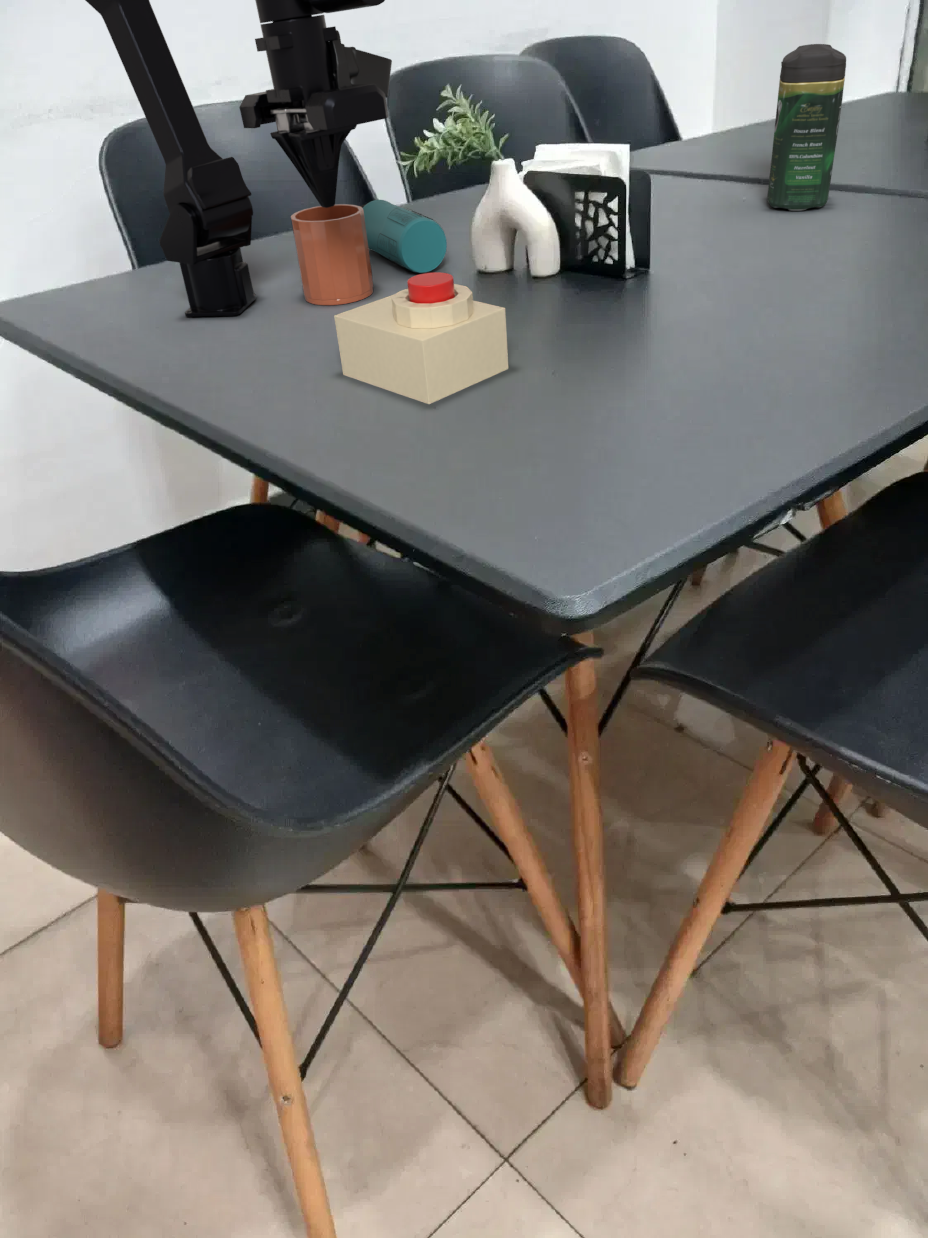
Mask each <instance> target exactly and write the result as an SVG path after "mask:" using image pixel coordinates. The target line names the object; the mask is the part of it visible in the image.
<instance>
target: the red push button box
mask: <svg viewBox="0 0 928 1238" xmlns="http://www.w3.org/2000/svg"><path fill="white" fill-rule="evenodd" d="M454 292H455V298H452V299H450V300H447V301H444V302H438V303H431V304H425V303H413V302H410V301H409V292H408V287H407V288H405V289H402V290H399V291H398V292H396V293H394V294H391V295H389V296H386V297H382V298H379V299H377V300H373V301H372V302H369V303H365V304H363V305H360V306H357V307H354V308H352V309H349V310H346V311H343V312H341V313H338V314H334V317H333V319H334V324H335V329H336V336H337V343H338V349H339V356H340V362H341V369H342V370H341V371H342V375H343V376H346V377H348V378H351V379H354V380H358V381H360V382H362V383H366V384H368V385H371V386H374V387H377V388H380V389H383V390H386V391H389V392H392V393H394V394H398V395H401V396H403V397H406V398H410V399H413V400H415V401H418V402H421V403H424V404H427V405H430V404H433V403H435V402H438V401H439V400H443V399H444V398H446V397H449V396H451V395H453V394H455V393H458V392H460V391H462V390H464V389H467V388H468V387H471V386H474V385H476V384H478V383H480V382H482V381H485V380H487V379H489V378H491V377H494V376H495V375H498V374H500V373H502V372H504V371H507V370H509V355H508V354H509V351H508V336H507V335H508V333H507V316H506V315H507V314H506V307H503V306H498V305H494V304H490V303H486V302H481V301H478V300H474V297H473V294H474V293H473V291H472V289H470V288H469V287H468V286H466V285H462V284H457V283H454Z"/></svg>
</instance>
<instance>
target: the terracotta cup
mask: <svg viewBox="0 0 928 1238" xmlns="http://www.w3.org/2000/svg"><path fill="white" fill-rule="evenodd" d="M360 206H361V205H356V204H346V203H339V204H337V203H335V205H334V206H333V207H329V208H324V207H322V206H321V205H316V206H313V207H308V208H303V209H300V210H299V211H296V212H294V213H292V214H291V216H290V222H291V228H292V233H293V239H294V245H295V250H296V256H297V257H296V258H297V262H298V269H299V274H300V282H301V287H302V292H303V297H304V300H305V301H306V303H309V304H312V305H316V306H339V305H347V304H351V303H352V304H353V303H357V302H359V301H362V300H364V299H366V298H369V297H370V296H371V295H372V294H373V293H374V281H373V272H372V265H371V264H372V263H371V258H370V257H371V256H370V249H368V241H367V233H366V225H365V218H364V210H363V208H362V207H360Z"/></svg>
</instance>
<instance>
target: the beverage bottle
mask: <svg viewBox="0 0 928 1238" xmlns="http://www.w3.org/2000/svg"><path fill="white" fill-rule="evenodd" d="M359 206H360V207H362V208H363V210H364V218H365V225H366V233H367V241H368V249H369V251H373V252H375V253H377V254H379V255H380V256H381V257H384V258H385V259H387V260H389V261H391V263H393V264H395V265H397V266H399V267H401V268H403V269H405V270H406V271H409V272H410V273H415V274H416V275H418V274H424V273H430V272H432V271H433V270H435V269H436V268H437V267H438V266H440V264H441V263H442V262H443V260H444V259H445V256H446V253H447V247H448V244H447V243H448V242H447V237H446V233H445V230H444V229H443V227H442V226H441V224H440V223H438V222H437V221H436V220H434V218H432V217H428V216H427V215H425V214H422V213H419V212H416V211H415V210H413V209H409V208H407V207H406V208H405V207H402V206H398V205H396V204H394V203H391V202H390V201H388V200H386V199H374V200H371V201H369V202H368V203H365V204H362V205H359Z"/></svg>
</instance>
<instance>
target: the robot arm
mask: <svg viewBox="0 0 928 1238" xmlns="http://www.w3.org/2000/svg"><path fill="white" fill-rule="evenodd" d="M84 1H85V2H86V3H87V4H89V5H90V6H91V8H93V9H94V10H95V11H96V12H97V13H98V14H99V15H100V16H101V18H102V20H103V22H104V24H105V27H106V29H107V31H108V34H109V35H110V39H111V41H112V43H113V45H114V47H115V50H116V52H117V54H118V57H119V59H120V61H121V63H122V66H123V68H124V71H125V73H126V75H127V77H128V79H129V82H130V84H131V86H132V89H133V91H134V94H135V96H136V98H137V101H138V103H139V105H140V107H141V110H142V113H143V114H144V116H145V119H146V121H147V124H148V126H149V128H150V131H151V133H152V135H153V138H154V140H155V142H156V145H157V147H158V149H159V151H160V154H161V156H162V158H163V161H164V164H165V170H164V180H163V181H164V182H163V192H162V193H163V194H162V195H163V198H164V201H165V204H166V207H167V210H168V214H169V215H168V217H167V220H166V223H165V226H164V227H163V230H162V233H161V235H160V238H159V240H158V243H159V245H160V248H161V251H162V252H163V254H164V257H165V258H166V261H168V262H173V263H178V264H179V267H180V271H181V275H182V279H183V282H184V283H183V284H184V288H185V292H186V296H187V301H188V305H189V308H188V309H186V310H185V311H184V316H185V317H187V318H191V317H193V318H194V317H195V318H196V317H224V316H225V317H227V316H238V315H240V314H241V313H242V312H244V311H245V310H246V309H247V308H248V307H249V306H250V305H251V304H252V303H253V302H254V301H255V300H256V299H257V295H256V294H255V293H254V289H253V284H252V279H251V274H250V268H249V264H248V263H247V262H246V261H244V260H243V255H242V249H241V248H243V247H249V246H251V244H252V226H253V225H252V224H253V216H254V209H253V204H252V201H251V199H250V197H251V196H252V192H251V191H250V189H249V187H248V186H247V184H246V182H245V180H244V177H243V175H242V171H241V167H240V164H239V163H238V162H237V160H236V159H235V158H234V157H233V156H229V157H225V158H223V156H220V155H219V154H218V153H217V151H215V150H214V149H213V148H212V147H211V145H210V144H209V142H208V139H207V136H206V134H205V132H204V130H203V127H202V124H201V123H200V120H199V117H198V116H197V113H196V111H195V108H194V106H193V103H192V101H191V98H190V96H189V94H188V91H187V88H186V86H185V84H184V82H183V79H182V76H181V74H180V72H179V69H178V66H177V64H176V62H175V59H174V57H173V55H172V53H171V50H170V47H169V45H168V43H167V41H166V38H165V36H164V33H163V31H162V29H161V26H160V23H159V20H158V19H157V16H156V14H155V12H154V9H153V7H152V5H151V4H152V3H151V2H150V0H84ZM254 1H255V5H256V10H257V15H258V20H259V23H260V29H261V34H262V37H258V38H254V42H255V47H256V51H257V52H265V53H266V58H267V63H268V69H269V73H270V77H271V82H272V83H271V84H272V87H273V88H271V89H266V90H265V91H261V92H256V93H249V94H245V96H244V97H243V99H242V101H241V103H240V105H239V107H238V108H239V112H240V116H241V120H242V121H241V122H242V125H243V129H258V128H261V125H268V124H273V123H275V125H276V131H271V132H270V133H269V134H270V137H271V138H272V139H273V140H275V141H276V143H277V144H278V145H279V147H280V148H281V150H282V151H283V152H284V153H285V155H286V157H287V158H288V160H290V162H291V163H292V165H293V166H294V167H295V170H296V171H297V172H298V174H299V175H300V176H301V179H302V180H303V181H304V183H305V184H306V185H307V187H308V188H309V190H310V192H311V193H312V194H313V196H314V198H315V199H316V200H317V202H318V203H319V206H322V207H324V208H329V207H333V206H334V205H336V197H337V188H338V187H337V186H338V177H339V176H338V175H339V165H340V159H341V158H340V157H341V152H342V145H343V143H344V142H345V141H346V139H347V138H348V136H349V134H350V133H351V132H352V131H353V130H356V128H357V126H358V125H362V124H366V123H371V122H372V123H373V122H376V121H381V120H385V119H386V120H387V119H388V118H389V117H390V116H389V112H388V111H389V110H388V109H389V108H388V104H387V98H388V97H389V91H390V82H391V81H390V80H391V72H392V65H393V64H392V63H393V61H392V59H391V58H388V57H384V56H381V55H379V54H374V53H371V52H368V51H364V50H361V49H357V48H356V47H355V46H346V45H345V43H342V39H341V34H340V31H339V30H338V29H337V27H336V26H335V25H334V26H327V22H326V18H325V14H332V13H337V12H344V11H352V10H358V9H363V8H364V9H365V8H371V7H377V6H380V5H381V4H383V3H385V1H386V0H254Z"/></svg>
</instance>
